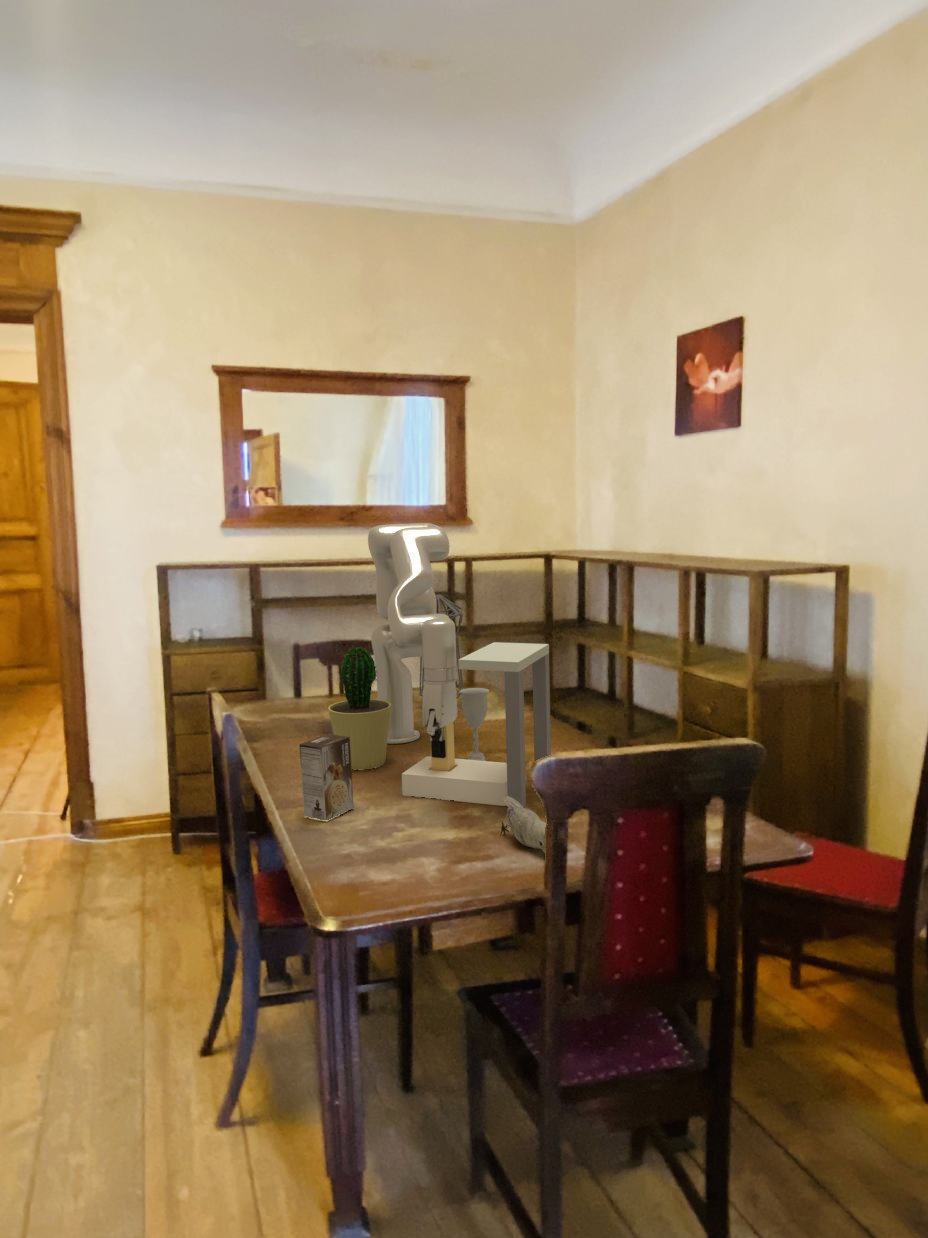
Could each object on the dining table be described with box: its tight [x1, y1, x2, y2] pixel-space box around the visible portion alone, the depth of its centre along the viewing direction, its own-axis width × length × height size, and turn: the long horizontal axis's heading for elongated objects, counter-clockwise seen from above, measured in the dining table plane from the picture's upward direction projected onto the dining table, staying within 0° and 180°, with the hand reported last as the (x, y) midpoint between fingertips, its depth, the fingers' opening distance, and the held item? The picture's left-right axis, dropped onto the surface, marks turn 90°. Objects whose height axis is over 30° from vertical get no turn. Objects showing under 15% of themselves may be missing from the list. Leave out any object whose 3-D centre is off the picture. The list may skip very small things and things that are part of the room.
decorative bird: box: [499, 796, 547, 854], centre depth 172 cm, size 5×16×8 cm, turn 27°
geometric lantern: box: [419, 594, 465, 699], centre depth 285 cm, size 16×16×35 cm
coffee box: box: [299, 733, 355, 820], centre depth 191 cm, size 9×6×16 cm
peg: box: [430, 721, 456, 772], centre depth 205 cm, size 4×4×12 cm
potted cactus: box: [327, 646, 391, 770], centre depth 225 cm, size 15×15×30 cm
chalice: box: [459, 687, 490, 761], centre depth 225 cm, size 7×7×18 cm
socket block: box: [401, 755, 508, 807], centre depth 204 cm, size 24×14×5 cm, turn 69°
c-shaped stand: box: [458, 641, 552, 809], centre depth 199 cm, size 13×22×32 cm, turn 159°
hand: (442, 753), depth 205 cm, fingers closed on peg, 4 cm apart
